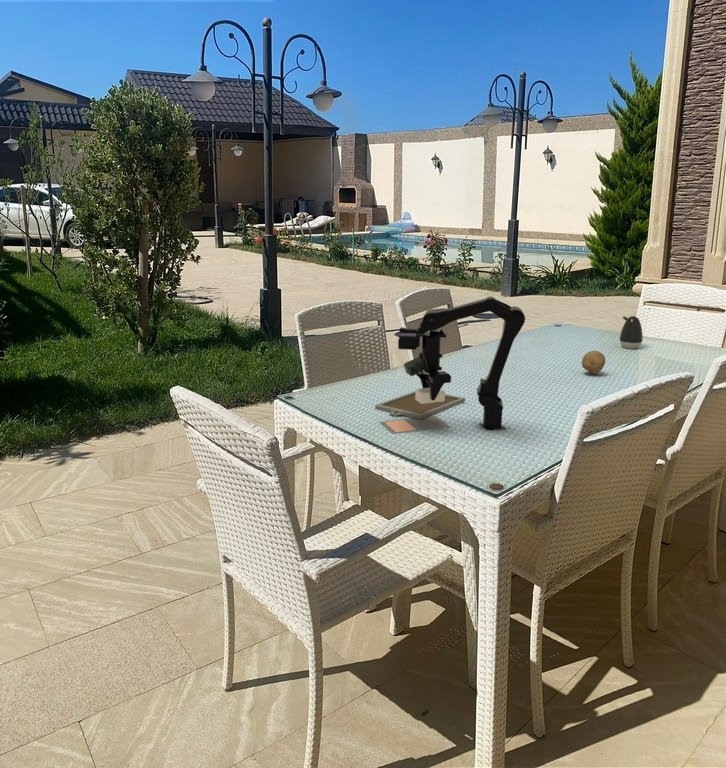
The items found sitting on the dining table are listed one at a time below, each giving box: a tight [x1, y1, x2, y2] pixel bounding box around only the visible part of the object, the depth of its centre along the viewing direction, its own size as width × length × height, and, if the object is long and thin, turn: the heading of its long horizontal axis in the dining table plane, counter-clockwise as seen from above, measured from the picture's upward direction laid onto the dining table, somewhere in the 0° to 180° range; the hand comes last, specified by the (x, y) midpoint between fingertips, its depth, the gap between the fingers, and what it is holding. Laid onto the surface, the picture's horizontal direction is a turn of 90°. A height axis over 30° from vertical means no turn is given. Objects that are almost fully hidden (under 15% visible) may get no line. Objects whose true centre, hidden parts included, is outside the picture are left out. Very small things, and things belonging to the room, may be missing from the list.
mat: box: [379, 415, 452, 435], centre depth 233 cm, size 12×20×1 cm, turn 109°
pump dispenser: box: [619, 315, 644, 350], centre depth 342 cm, size 10×10×15 cm
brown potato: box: [581, 350, 606, 375], centre depth 295 cm, size 9×9×10 cm
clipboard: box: [374, 391, 466, 420], centre depth 252 cm, size 19×2×30 cm
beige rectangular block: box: [415, 388, 446, 404], centre depth 232 cm, size 5×8×4 cm, turn 109°
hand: (429, 397), depth 233 cm, fingers closed on beige rectangular block, 5 cm apart
